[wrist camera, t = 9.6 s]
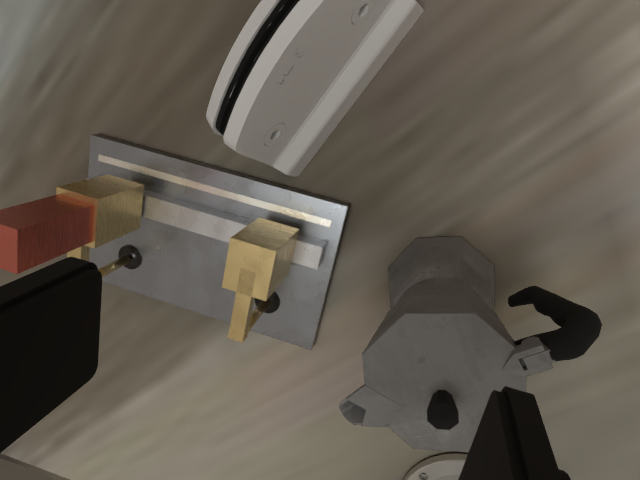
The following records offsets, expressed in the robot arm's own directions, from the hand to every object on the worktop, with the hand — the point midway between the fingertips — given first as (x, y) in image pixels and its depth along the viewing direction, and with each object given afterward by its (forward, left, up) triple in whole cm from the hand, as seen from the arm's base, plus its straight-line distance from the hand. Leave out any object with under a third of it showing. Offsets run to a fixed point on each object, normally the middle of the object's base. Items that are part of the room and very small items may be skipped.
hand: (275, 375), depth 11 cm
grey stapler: (+6, +8, -30) cm, 32 cm away
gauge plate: (-10, +15, -30) cm, 35 cm away
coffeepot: (-7, -7, -30) cm, 32 cm away
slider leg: (-10, +22, -28) cm, 37 cm away
